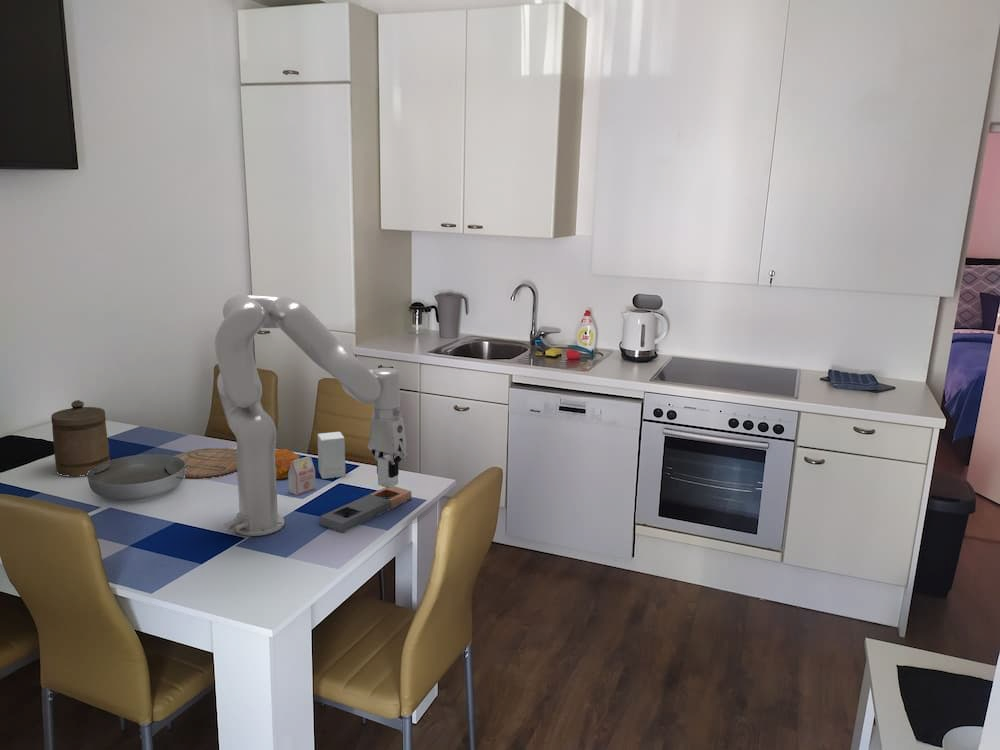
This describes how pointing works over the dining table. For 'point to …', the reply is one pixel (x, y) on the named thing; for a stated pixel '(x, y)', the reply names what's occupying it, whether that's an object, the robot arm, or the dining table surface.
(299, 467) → the white printed paper bag
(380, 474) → the steel peg
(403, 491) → the rail
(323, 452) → the supplement box
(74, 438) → the wooden container
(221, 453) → the trivet
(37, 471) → the dining table surface
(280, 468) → the croissant
